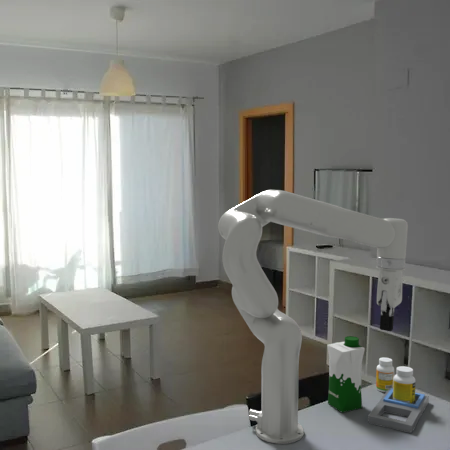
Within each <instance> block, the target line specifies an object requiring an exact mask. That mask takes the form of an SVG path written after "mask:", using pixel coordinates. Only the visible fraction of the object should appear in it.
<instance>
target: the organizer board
mask: <svg viewBox="0 0 450 450" xmlns="http://www.w3.org/2000/svg"><path fill="white" fill-rule="evenodd" d="M429 399H430V397H429V396H428V395H426V394H424V393H418V392H415V404H411V403H406V402H401V401H397V400H393V388H392V389H390V388H389V389H388V391H387V392H384V394H383V395H382V397H381V398H380V400H379V401H377V404H375V406H374V407H373V408H372V410H371V411H370V412H369V414H368V415H367V423H368V424H371V425H374V426H381V427H383V428H388V429H393V430H397V431H402V432H405V433H410V434H412V433H413V431H414V429H415V428H416V426H417V424H418V422H419V421H420V419H421V417H422V415H423V413H424V411H425V410H426V409H427V407H428V404H429V403H430V402H429V401H430V400H429ZM384 413H389V414H392V415H398V416H402V417H407V419H406V420H405V421H404V420H400V419H396V418H391V417H389V416H388V417H386V416H383V415H384Z"/></svg>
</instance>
